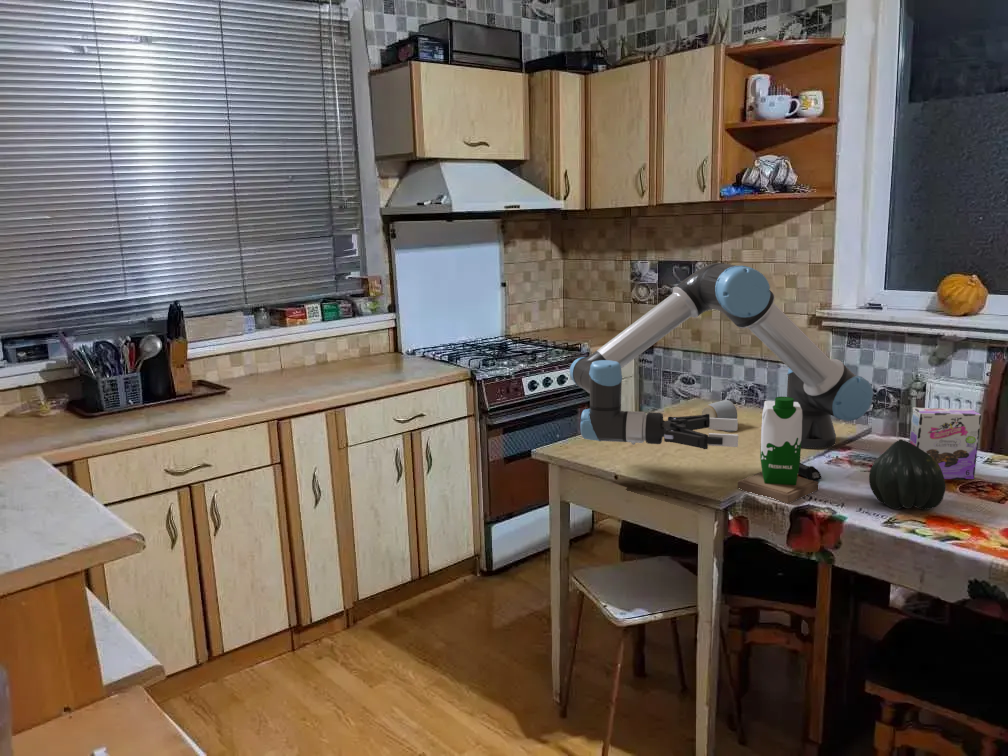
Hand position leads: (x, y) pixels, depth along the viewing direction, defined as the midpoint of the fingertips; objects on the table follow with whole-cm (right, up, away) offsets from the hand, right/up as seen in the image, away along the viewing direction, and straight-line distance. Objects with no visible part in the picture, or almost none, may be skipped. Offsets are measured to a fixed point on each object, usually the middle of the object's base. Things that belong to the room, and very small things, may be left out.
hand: (737, 432), depth 194 cm
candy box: (+51, -11, +8) cm, 53 cm away
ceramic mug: (+10, -2, +53) cm, 54 cm away
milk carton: (+10, -11, +1) cm, 15 cm away
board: (+10, -13, +1) cm, 16 cm away
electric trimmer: (+18, -11, +13) cm, 24 cm away
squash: (+34, -15, -10) cm, 39 cm away
